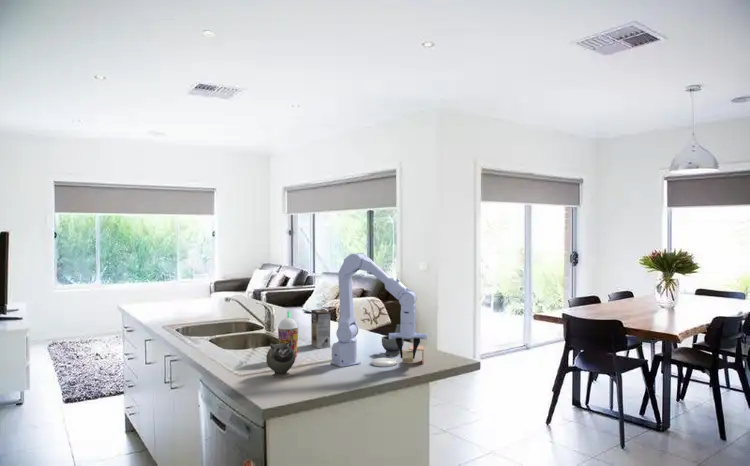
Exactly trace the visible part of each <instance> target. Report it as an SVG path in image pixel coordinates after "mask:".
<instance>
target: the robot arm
mask: <svg viewBox="0 0 750 466" xmlns="http://www.w3.org/2000/svg"><path fill="white" fill-rule="evenodd" d="M358 271H365V272H369V273H370V274H371V275H373V276H374V277H375V278H376V279H378V280H379V281H380V282H381V283H383V284H384V289H385V290H386V291H387V292H389V294H391V295H392V296H393V297H394V298H395V299H396V300H398V303H399V305H400V324H399V325H400V333H395V332H388V336H389V339H396V343H397V345H398V348H399V352H400V354H399V356H400V359H402V350H403V347H402V339H404V340H412V341H413V342H412V343H413V344H412V346H413V360H414V359H415V357H416V353H417V351H416V350H417V347H418V346H420V343H421V340H425V341H426V340H428V334H427V333H419V332H416V302H417V300H418V296H417V294H416V293H415V291H414V290H410V288H409V287H408V286H405V285H404V284H403V283H402V282H401V279H400V278H396V277H391V276H389V275H388V274H387V273H386V272H385V271H384V270H383V269H382V268H380V267H379V265H377V264H376V263H375V262H374V261H373V260H372V259H371V258H370V257H369V256H367V255H366V254H365V253H363V252H357V253H350V254H349V255H348V256H346V257H345V258H344V259H343V263H342V265H341V266H340V268H339V270H338V274H337V275H338V291H339V292H338V294H339V297H338V298H339V315H340V318H339V319H338V323H337V326H338V327H337V329H336V334H335V335H336V338H337V342H334V343H333V344H332V346H331V361H330V364H333V365H336V366H338V367H341V368H343V367H349V366H354V365H358V364H361V363H362V362H361V361H359V360H357V359H358V358H357V357H358V356H357V351H358V350H357V335H358V334H359V327H358V325H357V321H356V318H355V316H354V300H353V299H354V298H353V278H352V277H353V276H354V275H355V274H357V272H358Z"/></svg>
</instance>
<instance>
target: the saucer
mask: <svg viewBox="0 0 750 466" xmlns="http://www.w3.org/2000/svg"><path fill="white" fill-rule="evenodd" d="M397 361H398V360H396V358H390V357H389V358H388V357H379V358H378V357H377V358H373V359H372V360H371V365H372V366H375V367H379V368H388V367H394V366H396V365H398V362H397Z"/></svg>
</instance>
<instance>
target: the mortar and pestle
mask: <svg viewBox="0 0 750 466" xmlns="http://www.w3.org/2000/svg"><path fill="white" fill-rule="evenodd" d="M400 325H401V324H396V326H395V327H396V328H395V330H394V333H400ZM404 344H405V339H402V348H403V346H404ZM381 345H382V348H383V349H384V350H385V355H387V356H400V351H399V348H398V345H397V343H396V339H389V335H385V336H381Z"/></svg>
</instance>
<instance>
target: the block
mask: <svg viewBox="0 0 750 466" xmlns="http://www.w3.org/2000/svg"><path fill="white" fill-rule="evenodd" d="M401 359H402V364H409V363H410V364H414V359H413V350H409V349H402V358H401Z"/></svg>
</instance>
